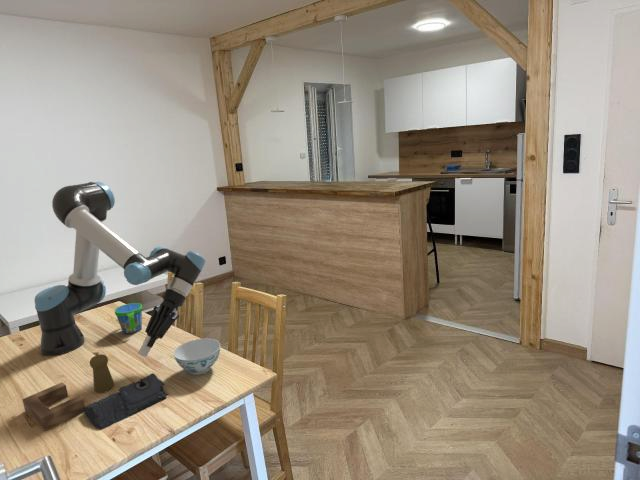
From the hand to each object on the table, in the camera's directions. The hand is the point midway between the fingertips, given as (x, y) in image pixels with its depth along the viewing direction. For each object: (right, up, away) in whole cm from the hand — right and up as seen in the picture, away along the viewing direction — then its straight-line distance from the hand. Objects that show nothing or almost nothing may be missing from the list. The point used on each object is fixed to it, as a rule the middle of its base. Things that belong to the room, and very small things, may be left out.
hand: (141, 355), depth 149 cm
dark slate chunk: (+3, -10, -17) cm, 20 cm away
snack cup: (-18, +1, +35) cm, 40 cm away
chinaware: (+20, -5, -1) cm, 21 cm away
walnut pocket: (-18, -12, -18) cm, 28 cm away
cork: (-9, -9, -8) cm, 14 cm away
